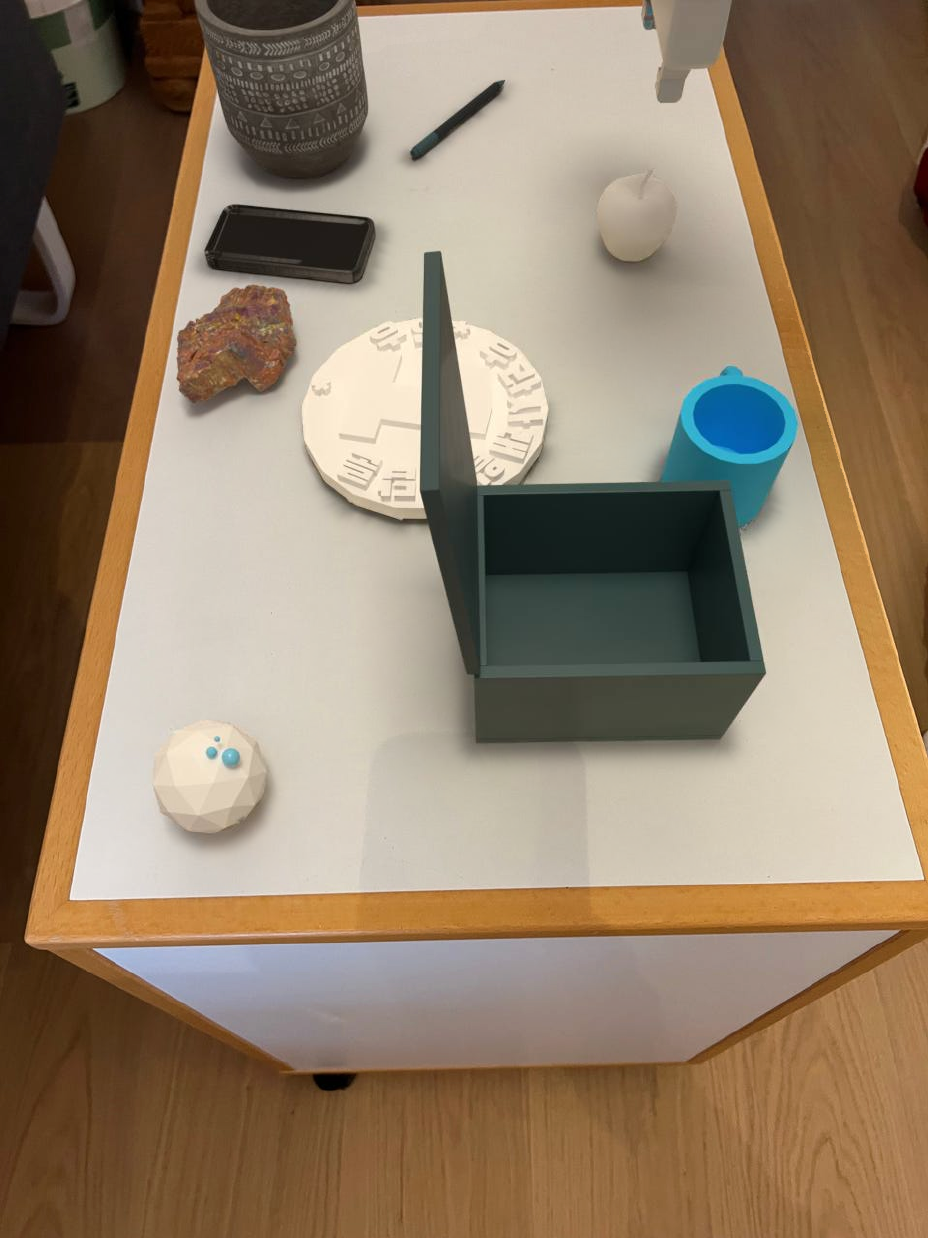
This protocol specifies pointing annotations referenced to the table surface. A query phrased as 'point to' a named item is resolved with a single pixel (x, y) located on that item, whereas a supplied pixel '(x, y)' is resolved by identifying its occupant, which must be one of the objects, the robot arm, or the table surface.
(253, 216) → the phone
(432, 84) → the table surface
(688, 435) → the mug
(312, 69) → the planter
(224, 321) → the mineral specimen
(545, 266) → the table surface
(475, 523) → the lid
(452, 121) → the pen
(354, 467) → the giant coin
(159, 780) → the ornament
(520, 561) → the chest
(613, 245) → the plain white apple
